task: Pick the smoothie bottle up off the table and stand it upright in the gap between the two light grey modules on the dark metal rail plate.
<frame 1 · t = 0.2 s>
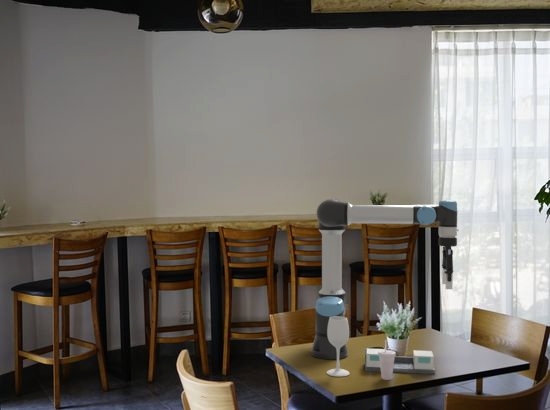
hand: (447, 286, 269), 28 cm above the table, tool pointing down, fingers open, 13 cm apart
mounted modules: (399, 358, 244), point 4 cm above the table
smoothie: (386, 378, 233), on the table
wineglass: (338, 374, 239), on the table
rail plate: (399, 368, 245), on the table
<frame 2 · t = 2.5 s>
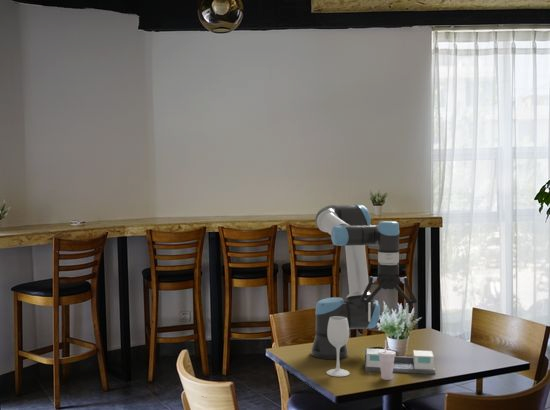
hand: (388, 321, 233), 21 cm above the table, tool pointing down, fingers open, 13 cm apart
nothing on the table moved.
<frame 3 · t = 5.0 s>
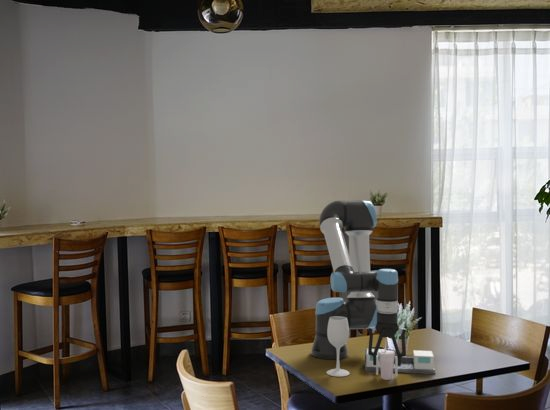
hand: (386, 374, 233), 1 cm above the table, tool pointing down, fingers closed on smoothie, 6 cm apart
smoothie: (386, 378, 233), on the table, touching gripper
everything else where it was.
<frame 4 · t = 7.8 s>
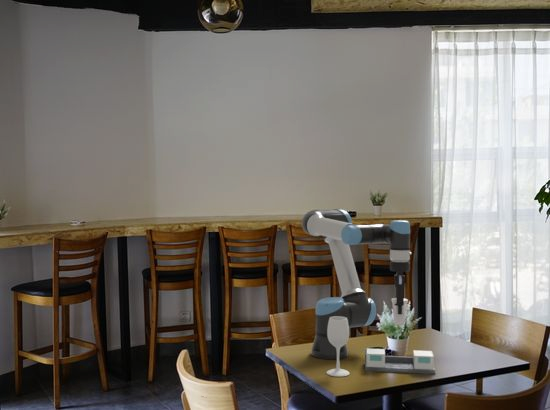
hand: (399, 320, 244), 19 cm above the table, tool pointing down, fingers closed on smoothie, 6 cm apart
smoothie: (399, 324, 244), point 17 cm above the table, touching gripper
everything else where it was.
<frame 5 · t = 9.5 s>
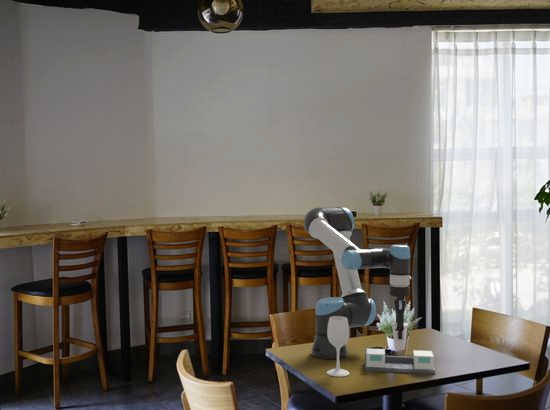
hand: (399, 345, 244), 9 cm above the table, tool pointing down, fingers closed on smoothie, 6 cm apart
smoothie: (399, 349, 245), point 8 cm above the table, touching gripper
everything else where it was.
when the fingers open (4 cm above the table, at t = 10.8 s): smoothie drops 1 cm, resting on rail plate.
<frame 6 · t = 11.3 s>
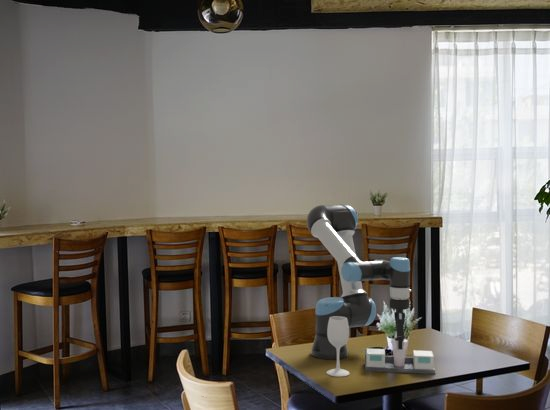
hand: (399, 352, 245), 6 cm above the table, tool pointing down, fingers open, 13 cm apart
smoothie: (399, 365, 245), point 1 cm above the table, touching rail plate
everything else where it was.
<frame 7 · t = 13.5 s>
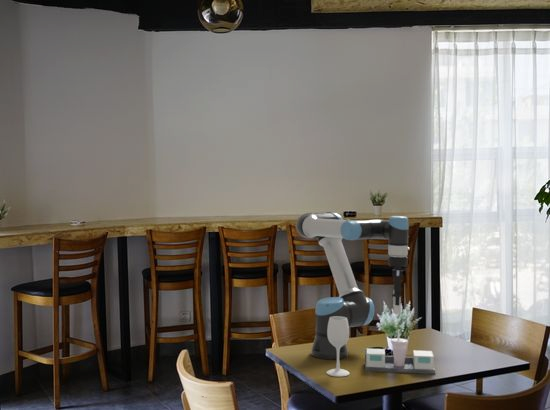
hand: (396, 309, 249), 22 cm above the table, tool pointing down, fingers open, 13 cm apart
nothing on the table moved.
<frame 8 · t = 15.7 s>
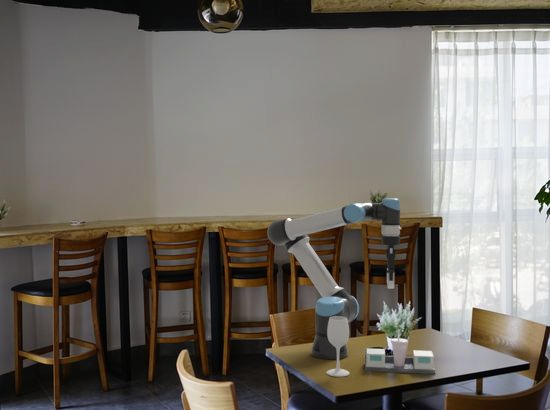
hand: (390, 286, 265), 29 cm above the table, tool pointing down, fingers open, 13 cm apart
nothing on the table moved.
at the end: smoothie 0.2 cm off-centre on the rail plate, point 1.3 cm above the rail plate's base; smoothie tilted 0°; the gripper is holding nothing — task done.
